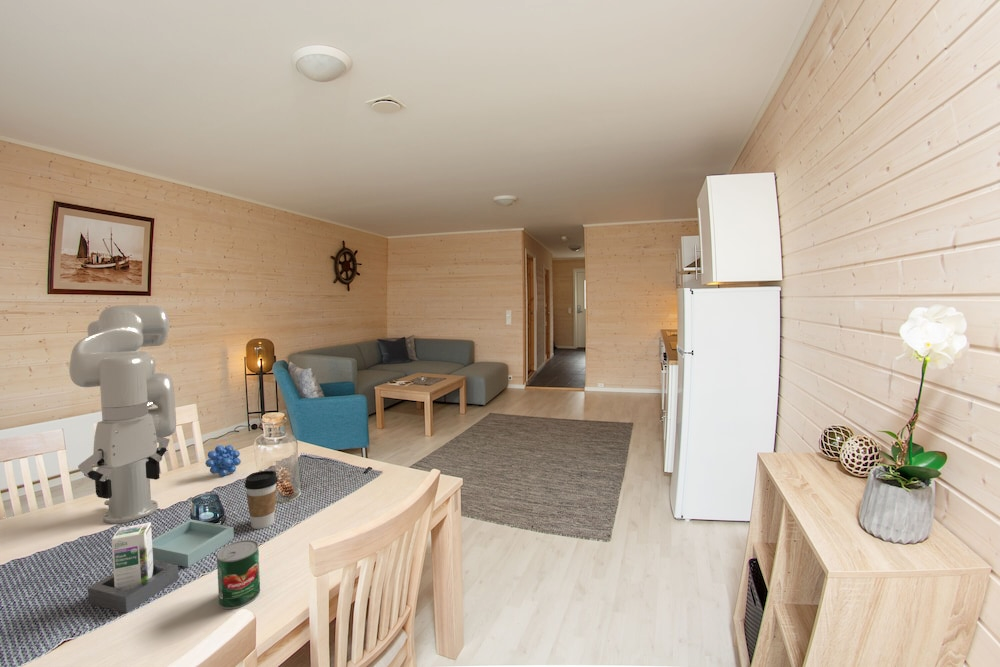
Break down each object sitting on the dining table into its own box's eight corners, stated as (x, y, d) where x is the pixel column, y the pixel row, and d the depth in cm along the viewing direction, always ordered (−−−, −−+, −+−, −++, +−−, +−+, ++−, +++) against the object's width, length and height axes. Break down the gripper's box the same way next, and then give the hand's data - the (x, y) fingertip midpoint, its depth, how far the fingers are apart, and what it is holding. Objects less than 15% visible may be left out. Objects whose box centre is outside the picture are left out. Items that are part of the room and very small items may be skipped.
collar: (88, 603, 90) (87, 587, 90) (143, 571, 101) (142, 557, 101) (126, 613, 88) (125, 597, 87) (178, 579, 98) (177, 565, 98)
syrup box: (114, 603, 90) (110, 539, 89) (123, 586, 96) (119, 526, 94) (147, 595, 93) (144, 532, 92) (154, 579, 98) (151, 520, 97)
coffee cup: (264, 533, 118) (262, 481, 117) (239, 529, 120) (237, 478, 119) (285, 518, 126) (284, 470, 125) (261, 514, 128) (259, 467, 127)
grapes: (211, 484, 148) (210, 451, 147) (203, 479, 152) (202, 447, 151) (246, 473, 158) (245, 442, 157) (237, 469, 161) (236, 439, 160)
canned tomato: (244, 580, 98) (243, 536, 97) (268, 590, 95) (266, 544, 94) (210, 603, 91) (208, 555, 90) (234, 614, 88) (232, 564, 87)
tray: (142, 557, 106) (141, 545, 106) (191, 530, 119) (190, 519, 119) (188, 567, 103) (187, 554, 102) (233, 538, 115) (233, 527, 115)
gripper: (153, 401, 100) (157, 470, 102) (63, 421, 84) (69, 503, 85) (178, 403, 98) (181, 474, 100) (90, 424, 82) (96, 508, 83)
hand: (130, 487), depth 92 cm, fingers open, 9 cm apart
